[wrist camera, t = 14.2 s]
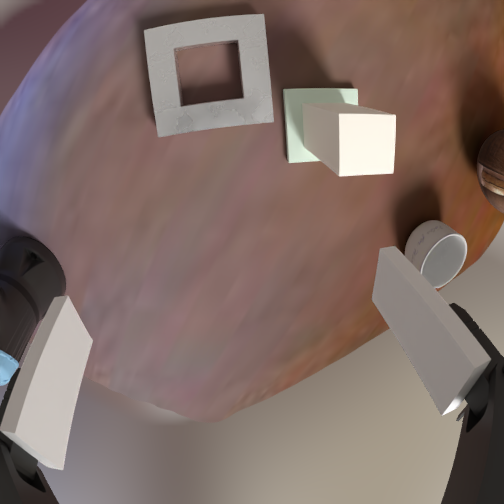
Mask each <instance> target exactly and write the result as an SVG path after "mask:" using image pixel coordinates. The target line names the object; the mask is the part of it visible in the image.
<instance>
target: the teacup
mask: <svg viewBox="0 0 504 504" xmlns="http://www.w3.org/2000/svg"><path fill="white" fill-rule="evenodd" d="M466 253H467V244H466V240H465V239H464V237H463V236H462V235H460V234H458V233H457V232H456V231H454V230H453V229H452V228H450V227H449V226H448V225H446V224H444V223H443V222H440V221H437V220H431V221H427V222H424V223H422V224H421V225H419V226H418V227H417V228H416V229H415V230H414V231H413V232H412V233H411V235H410V237H409V239H408V241H407V243H406V247H405V257H406V258H407V259H408V260H409V261H410V262H411V263H412V264H413V265H414V266H415V268H416V269H417V270H418V271H419V272H420V273H421V274H422V275H423V276H424V277H425V279H426V280H427V281H428V282H429V283H430V284H431V285H432V286H433V287H434V288H439V287H442V286H443V285H445V284H447V283H448V282H449V281H451V279H453V278H454V277H455V275H456V274H457V273H458V272H459V270H460V269H461V267H462V265H463V263H464V260H465V257H466Z"/></svg>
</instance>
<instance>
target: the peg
mask: <svg viewBox="0 0 504 504" xmlns="http://www.w3.org/2000/svg"><path fill="white" fill-rule="evenodd" d="M302 113H303V132H304V148H306V149H307V150H308V151H309V152H311V153H312V154H313V155H314V156H316V157H317V158H318V159H319V160H321V161H322V162H323V163H324V164H325V165H327V166H328V167H329V168H330V169H331V170H332V171H334V172H335V173H336V174H337V175H338V176H352V175H370V174H392V173H393V171H394V155H395V130H396V115H394V114H390V113H386V112H382V111H379V110H375V109H371V108H366V107H362V106H358V105H353V104H349V103H302Z"/></svg>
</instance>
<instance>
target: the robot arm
mask: <svg viewBox="0 0 504 504" xmlns="http://www.w3.org/2000/svg"><path fill="white" fill-rule="evenodd" d="M65 290H66V280H65V276H64V272H63V270H62V268H61V266H60V264H59V262H58V261H57V259H56V258H55V256H54V255H53V254H52V253H51V252H50V251H49V250H48V249H47V248H46V247H45V246H43V245H42V244H41V243H39V242H37V241H36V240H33V239H31V238H28V237H15V238H12V239H10V240H9V241H8V242H7V243H6V244H5V245H4V246H3V247H2V248H1V249H0V386H1V385H5V384H6V383H8V382H9V384H8V387H7V391H6V392H5V395H4V400H2V403H1V406H0V504H59V503H58V501H57V499H56V497H55V496H54V494H53V492H52V490H51V488H50V486H49V485H48V483H47V481H46V479H45V477H44V475H43V473H42V471H41V470H40V469H39V467H38V466H37V463H38V461H39V462H41V463H42V464H44V465H45V466H47V467H49V468H55V469H60V470H63V467H64V461H65V455H66V449H67V443H68V438H69V433H70V428H71V423H72V418H73V414H74V409H75V405H76V400H77V397H78V393H79V388H80V385H81V380H82V377H83V373H84V370H85V366H86V363H87V359H88V356H89V352H90V349H91V345H92V342H93V341H92V339H91V337H90V335H89V334H88V332H87V330H86V328H85V327H84V325H83V323H82V321H81V319H80V317H79V316H78V314H77V312H76V310H75V308H74V306H73V304H72V302H71V300H70V298H69V296H64V294H65ZM372 301H373V302H374V304H375V305H376V307H377V308H378V310H379V312H380V313H381V315H382V316H383V318H384V319H385V321H386V322H387V324H388V326H389V327H390V329H391V330H392V332H393V334H394V335H395V337H396V338H397V340H398V341H399V343H400V345H401V346H402V348H403V350H404V351H405V353H406V355H407V356H408V358H409V360H410V361H411V363H412V365H413V366H414V368H415V370H416V371H417V373H418V375H419V376H420V378H421V380H422V382H423V383H424V385H425V387H426V389H427V390H428V392H429V394H430V396H431V397H432V399H433V401H434V403H435V405H436V407H437V408H438V410H439V412H440V414H441V415H444V414H446V413H448V412H450V411H452V410H454V409H456V408H458V406H459V405H460V404H461V402H462V401H463V400H464V399H465V400H466V402H467V403H468V404H467V406H466V407H465V408H464V409H463V411H462V412H461V413H460V414H459V415H458V418H457V420H456V421H459V420H460V419H461V418H462V417H463V416H464V418H463V421H462V422H463V423H462V429H461V434H460V438H459V443H458V447H457V451H456V455H455V459H454V463H453V467H452V470H451V474H450V478H449V481H448V484H447V487H446V490H445V493H444V496H443V499H442V502H441V504H504V357H503V356H502V355H501V354H500V353H499V351H498V350H497V349H496V348H495V346H494V345H493V344H492V342H491V341H490V340H489V339H488V337H487V336H486V335H485V334H484V332H483V331H482V330H481V329H479V326H478V325H477V324H476V322H475V321H473V319H472V318H471V317H470V315H469V314H468V313H467V312H466V311H465V310H464V309H463V308H461V307H460V306H458V305H457V304H455V303H452V304H449V305H448V304H447V303H446V301H445V300H444V299H443V298H442V297H441V296H440V294H439V293H438V292H437V291H436V290H435V289H434V287H433V286H432V285H431V284H430V283H429V282H428V281H427V280H426V279H425V277H424V276H423V275H422V274H421V273H420V272H419V271H418V270H417V269H416V268H415V266H414V265H413V264H412V263H411V262H410V261H409V260H408V259H407V258H406V257H405V256H404V255H403V254H402V253H401V252H400V251H399V250H398V249H397V248H396V246H392V247H386V248H381V249H380V252H379V259H378V265H377V272H376V278H375V284H374V289H373V295H372ZM43 318H44V319H43ZM41 319H43V321H42V323H41V325H40V327H39V329H38V331H37V333H36V335H35V337H34V340H33V342H32V344H31V346H30V349H29V351H28V353H27V355H26V358H25V360H24V363H23V365H22V367H21V368H18V366H19V361H20V359H21V357H22V355H23V353H24V350H25V348H26V346H27V344H28V342H29V340H30V338H31V336H32V334H33V332H34V330H35V328H36V326H37V324H38V322H39V321H40V320H41ZM17 368H18V369H17ZM16 369H17V370H16ZM15 370H16V372H15ZM14 372H15V373H14ZM12 375H13V376H12Z"/></svg>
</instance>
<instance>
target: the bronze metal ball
mask: <svg viewBox="0 0 504 504" xmlns="http://www.w3.org/2000/svg"><path fill="white" fill-rule="evenodd" d="M477 176H478V181H479V184H480V187H481V189H482V191H483V193H484V195H485V197H486V198H487V200H488V201H489V202H490V203H491V204H492V205H493V206H494V207H495V208H496V209H497V210H499V211H500V212H502V213H504V129H503V130H499V131H497V132H495V133H493V134H492V135H490V136H489V137H488V138H487V139H486V140H485V142H484V143H483V145H482V147H481V149H480V151H479V154H478V159H477Z"/></svg>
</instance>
